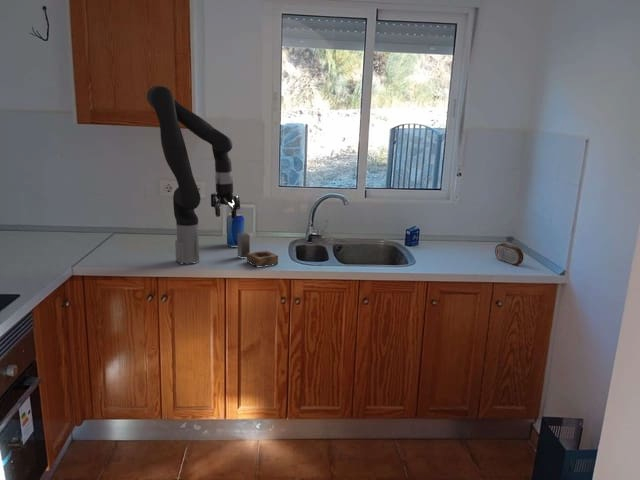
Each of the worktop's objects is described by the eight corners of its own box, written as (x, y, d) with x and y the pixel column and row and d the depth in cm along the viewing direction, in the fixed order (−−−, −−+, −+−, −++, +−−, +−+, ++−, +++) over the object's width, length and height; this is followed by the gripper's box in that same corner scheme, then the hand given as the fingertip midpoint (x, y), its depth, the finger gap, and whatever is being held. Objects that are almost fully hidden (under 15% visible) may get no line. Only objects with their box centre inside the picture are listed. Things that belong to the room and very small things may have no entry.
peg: (241, 259, 243) (241, 235, 240) (237, 257, 246) (237, 233, 244) (249, 258, 245) (249, 234, 243) (245, 255, 249) (245, 232, 246)
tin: (522, 266, 246) (525, 248, 244) (518, 267, 245) (520, 249, 242) (497, 258, 259) (499, 241, 257) (492, 258, 257) (494, 241, 255)
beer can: (235, 249, 259) (235, 216, 255) (223, 246, 264) (222, 214, 260) (247, 245, 266) (247, 214, 262) (235, 242, 271) (235, 211, 267)
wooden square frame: (257, 267, 231) (257, 259, 230) (246, 262, 239) (246, 253, 238) (277, 264, 237) (277, 255, 236) (266, 258, 245) (266, 250, 244)
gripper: (205, 181, 235) (208, 217, 240) (232, 184, 229) (234, 221, 234) (216, 179, 242) (218, 214, 247) (242, 181, 236) (244, 217, 240)
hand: (226, 217), depth 240 cm, fingers open, 8 cm apart
